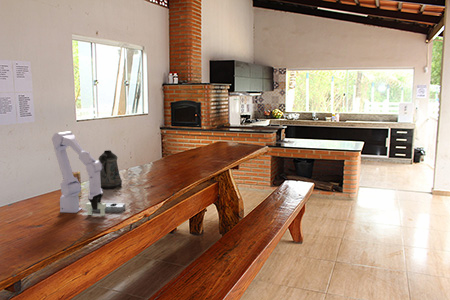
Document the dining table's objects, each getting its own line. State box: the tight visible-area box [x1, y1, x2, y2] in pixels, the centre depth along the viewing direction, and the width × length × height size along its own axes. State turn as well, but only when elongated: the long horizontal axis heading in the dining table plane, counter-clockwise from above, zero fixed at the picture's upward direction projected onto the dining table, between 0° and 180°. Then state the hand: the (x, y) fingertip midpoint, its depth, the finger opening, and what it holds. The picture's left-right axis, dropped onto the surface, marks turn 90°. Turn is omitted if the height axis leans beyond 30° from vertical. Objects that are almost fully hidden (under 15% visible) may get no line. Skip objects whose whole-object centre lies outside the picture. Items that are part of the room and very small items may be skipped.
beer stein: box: [98, 149, 123, 191], centre depth 271 cm, size 16×19×25 cm
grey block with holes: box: [92, 202, 126, 213], centre depth 225 cm, size 18×7×3 cm, turn 86°
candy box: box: [68, 171, 82, 198], centre depth 250 cm, size 9×4×15 cm, turn 96°
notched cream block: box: [85, 201, 107, 217], centre depth 216 cm, size 10×3×6 cm, turn 86°
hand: (96, 208), depth 216 cm, fingers closed on notched cream block, 3 cm apart
